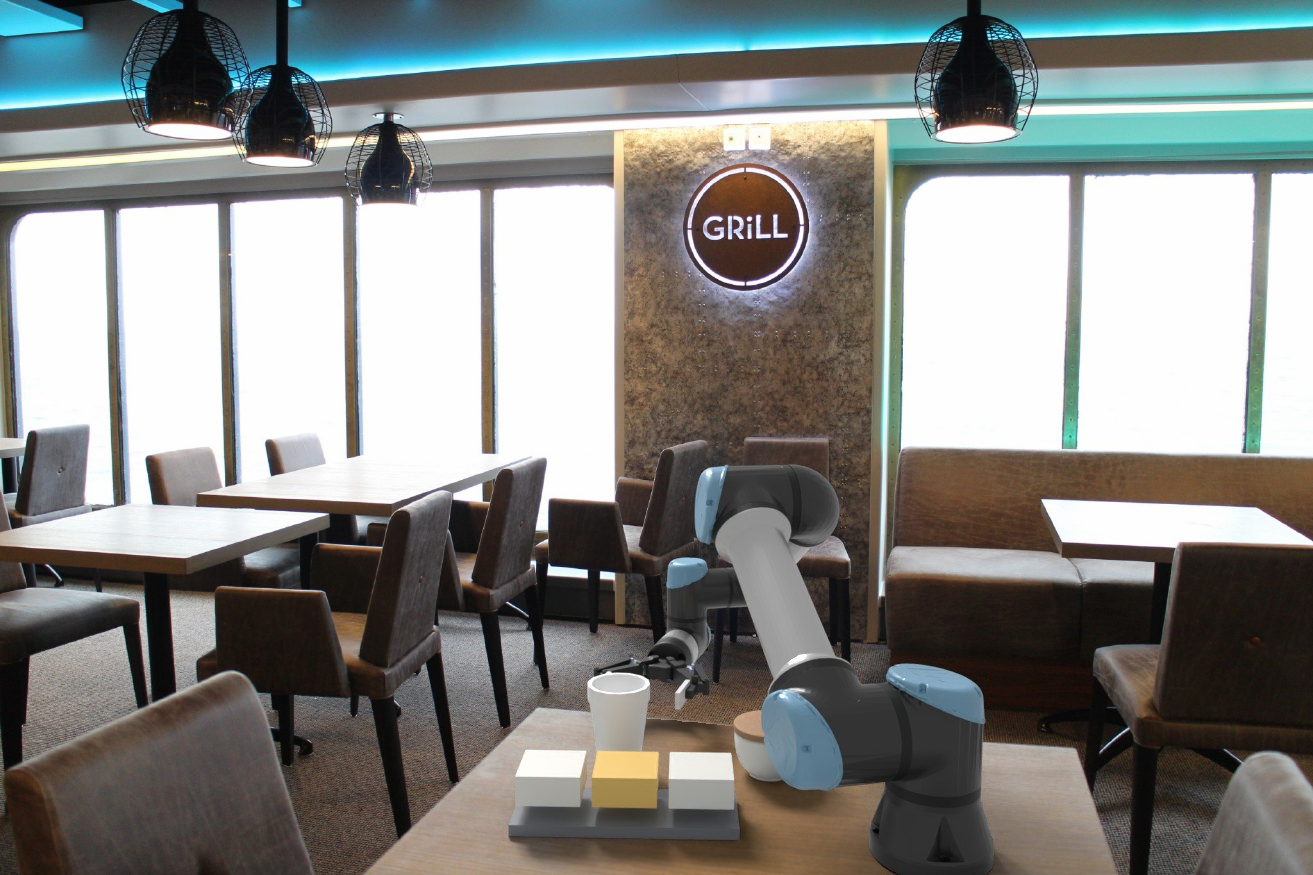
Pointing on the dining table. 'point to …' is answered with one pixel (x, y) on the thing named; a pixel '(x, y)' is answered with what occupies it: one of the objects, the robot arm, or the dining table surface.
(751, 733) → the lidded jar
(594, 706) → the foam cup
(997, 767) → the dining table surface
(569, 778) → the key
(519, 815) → the keypad base
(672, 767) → the key
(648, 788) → the amber key
